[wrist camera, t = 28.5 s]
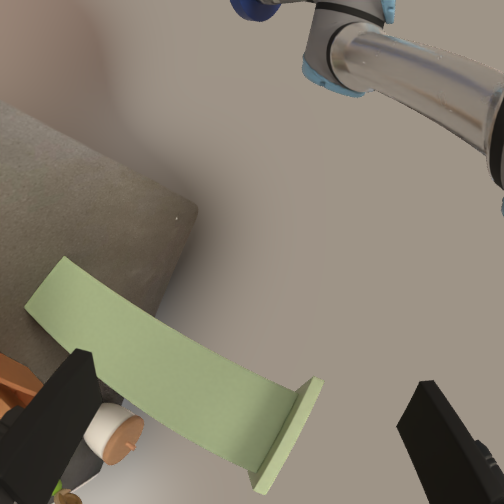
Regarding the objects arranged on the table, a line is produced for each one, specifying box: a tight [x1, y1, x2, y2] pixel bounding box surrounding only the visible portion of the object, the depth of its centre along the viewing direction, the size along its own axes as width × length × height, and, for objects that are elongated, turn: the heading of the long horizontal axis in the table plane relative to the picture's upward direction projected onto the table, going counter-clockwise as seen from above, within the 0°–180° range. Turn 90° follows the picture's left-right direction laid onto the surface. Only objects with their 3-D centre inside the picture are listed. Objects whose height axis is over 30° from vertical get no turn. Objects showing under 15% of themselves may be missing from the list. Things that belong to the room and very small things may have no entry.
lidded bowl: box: [83, 403, 144, 465], centre depth 46 cm, size 13×13×11 cm
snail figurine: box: [51, 480, 82, 504], centre depth 31 cm, size 5×6×12 cm
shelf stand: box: [24, 256, 324, 495], centre depth 27 cm, size 12×10×30 cm
